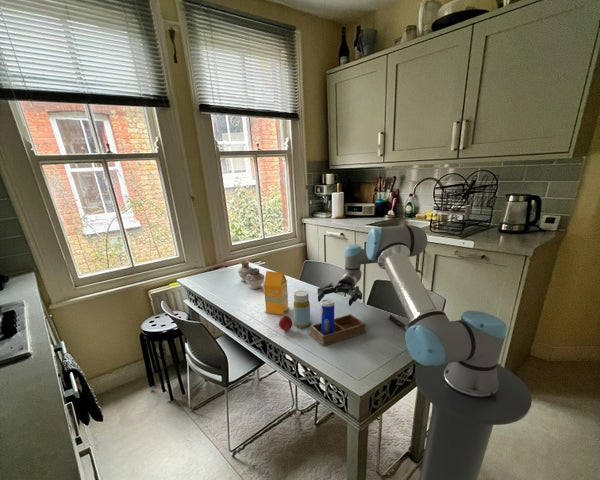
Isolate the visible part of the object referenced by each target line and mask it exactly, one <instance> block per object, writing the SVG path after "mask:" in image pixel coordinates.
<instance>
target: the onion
mask: <svg viewBox="0 0 600 480" xmlns="http://www.w3.org/2000/svg"><path fill="white" fill-rule="evenodd" d="M293 324H294V323H293V320H292V319H291V317H290V316H288V315H287V314H286V313H284V314H283V316H282V317H281V318H279V321H278V326H279V328H280V329H281V330H282V331H284V332H288V331H289V330H291V329H292V327H293Z"/></svg>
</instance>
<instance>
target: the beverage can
mask: <svg viewBox="0 0 600 480" xmlns="http://www.w3.org/2000/svg"><path fill="white" fill-rule="evenodd" d="M320 305H321V307H320V308H321V311H320V312H321V313H320V314H321V315H320V316H321V317H320V319H321V321H320V322H321V323H322V334H323V335H328V334H331V333H334V319H335V301H334V300H333V299H324V300H323V299H322V300H321V304H320Z"/></svg>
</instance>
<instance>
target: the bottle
mask: <svg viewBox="0 0 600 480" xmlns="http://www.w3.org/2000/svg"><path fill="white" fill-rule="evenodd" d="M309 297H310V296H309V292H308V291H307V290H297V291H295V292H294V293H293V298H294V300H293V318H294V325H295V326H296V327H297V328H307V327H308V326H309V325H310V324H311V303H310V300H309Z"/></svg>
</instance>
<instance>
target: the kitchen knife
mask: <svg viewBox="0 0 600 480" xmlns="http://www.w3.org/2000/svg"><path fill="white" fill-rule="evenodd" d="M389 320H390V321H393V322H394V323H395V324H396V325H397V326H399V327H401V328H403V329H404V330H405V331H407V326H408V325H406V324H405V323H403V321H401V320H400V319H398V318H396V317H394V316H393V315H391V314H389Z"/></svg>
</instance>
